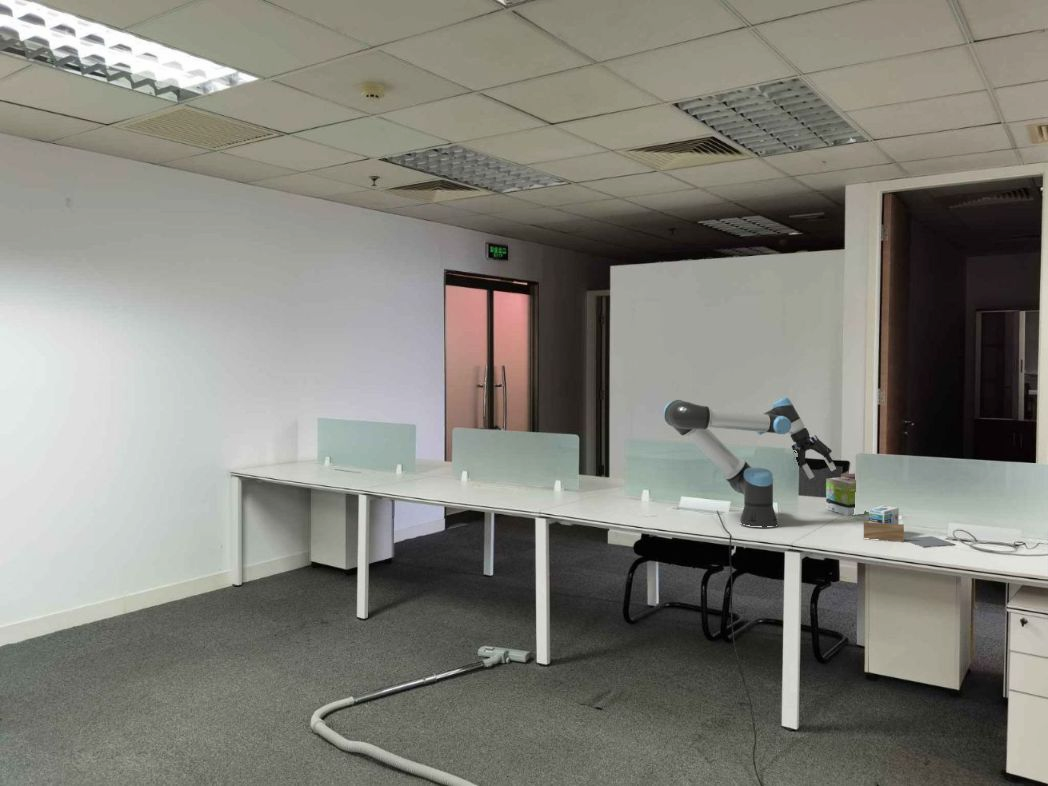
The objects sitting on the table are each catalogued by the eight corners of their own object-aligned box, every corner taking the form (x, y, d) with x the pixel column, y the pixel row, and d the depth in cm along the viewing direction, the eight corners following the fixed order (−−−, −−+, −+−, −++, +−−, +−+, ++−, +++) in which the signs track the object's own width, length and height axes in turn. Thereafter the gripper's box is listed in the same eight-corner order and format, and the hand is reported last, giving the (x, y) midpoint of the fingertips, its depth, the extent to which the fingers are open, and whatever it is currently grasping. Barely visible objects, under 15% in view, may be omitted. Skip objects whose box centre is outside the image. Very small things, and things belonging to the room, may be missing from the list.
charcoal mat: (923, 547, 294) (923, 546, 294) (901, 539, 306) (901, 538, 306) (955, 545, 296) (955, 544, 296) (931, 537, 309) (931, 536, 308)
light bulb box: (884, 539, 308) (884, 511, 307) (868, 536, 313) (868, 508, 313) (899, 534, 314) (899, 507, 314) (883, 531, 320) (883, 505, 319)
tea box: (825, 510, 364) (825, 477, 363) (843, 508, 367) (843, 476, 366) (847, 516, 350) (847, 482, 349) (866, 514, 353) (866, 481, 352)
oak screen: (903, 542, 302) (903, 525, 302) (863, 539, 308) (863, 522, 308) (903, 541, 303) (903, 524, 303) (863, 538, 309) (863, 521, 309)
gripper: (822, 418, 340) (848, 463, 337) (784, 436, 361) (808, 477, 358) (811, 425, 336) (837, 470, 333) (773, 442, 358) (798, 484, 355)
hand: (822, 474), depth 346 cm, fingers open, 13 cm apart
